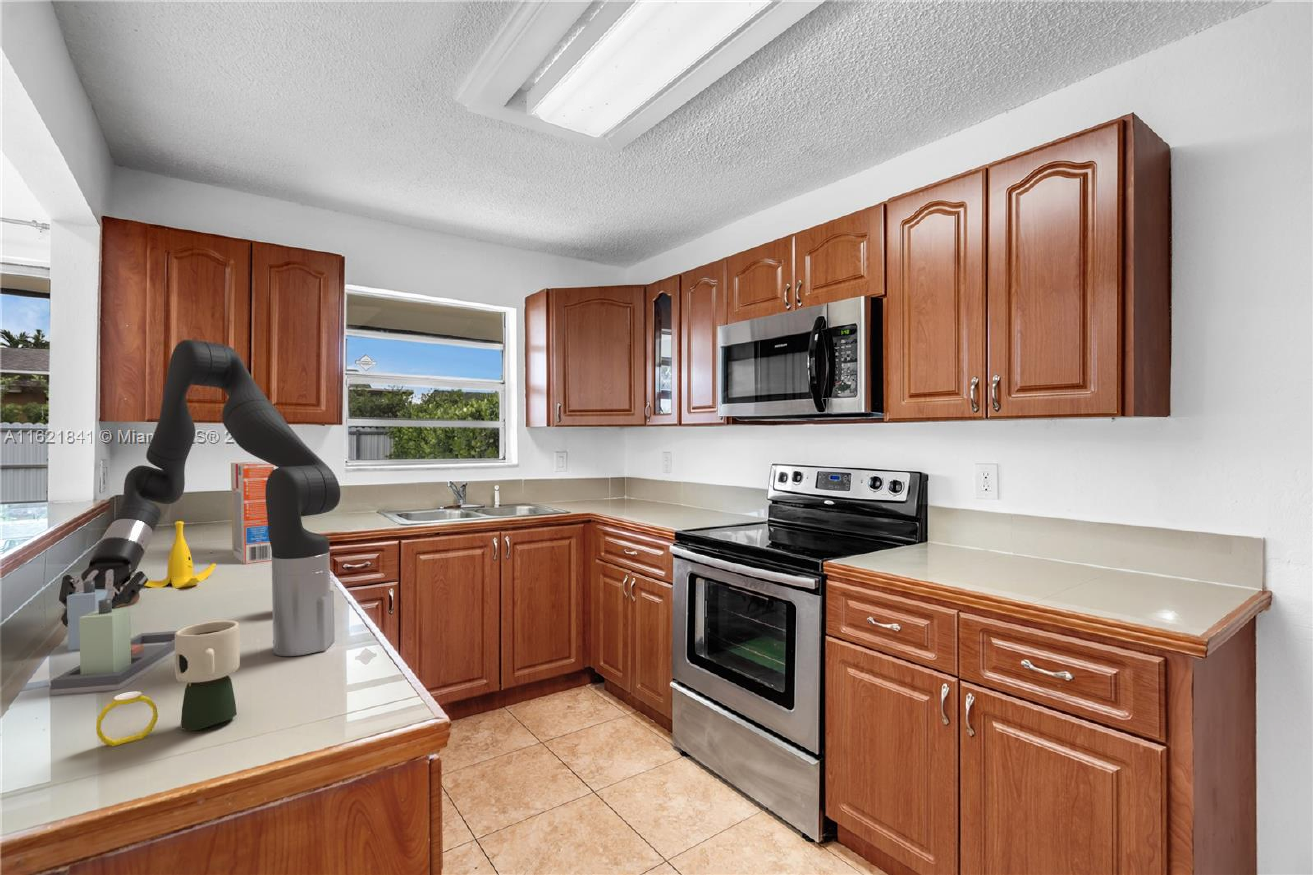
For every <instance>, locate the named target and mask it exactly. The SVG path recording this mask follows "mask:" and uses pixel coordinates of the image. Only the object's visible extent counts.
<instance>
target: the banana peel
mask: <svg viewBox="0 0 1313 875" xmlns="http://www.w3.org/2000/svg"><path fill="white" fill-rule="evenodd" d="M184 523H185V522H184V521H181V520H179V521H178V520H177V521H175V523H174V525H175V530H176V533H175V534H176V535H175V540H174V542H173V544H172V547H171V550H170V553H169V557H168V562H167V569H166V570H167V574H166V575H167V576H166V578H164V579H163V580H149V579H148V581H147V583H146V584H145V585H144V586H143V587H149V588H151V589H157V588H164V587H166V586H168V585H169V584H171V586H172V588H173V589H178V590H179V589H184V588H189V587H194V586H197V585H198V582H202V581H205V580H206V579H207V578H209V576H210V575H211V574H212V573H213V571H214V569H215V568H216V566H217V563H212V564H210V565H209V566H208V567H207V568H206V569H205V570H203V571H201V572H200V573H198V574H194V564H193V563H194V562H193V557H192V554H191V551H190V548H189V546H188V544H187V542H186V540H185V537H184Z"/></svg>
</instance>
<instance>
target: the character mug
mask: <svg viewBox="0 0 1313 875" xmlns="http://www.w3.org/2000/svg"><path fill="white" fill-rule="evenodd" d="M176 631H177V632H175V655H174V671H175V672H174V673H175V674H174V675H175V678H176V681H177V682H183V683H187V684H186V686H185V687H184V695H183V701H182V706H181V717H180V718H181V719H180V729H183V730H186V731H195V730H196V731H198V730H201V729H203V728H212V727H213V725H214V726H215V725H218V724H220V723H224V722H225V721H228V720H231V719H233V718H234V717H235V716H237V714H238V713H237V704H236V697H235V694H234V687H233V682H232V678H231V677H230V676H231V675H232V674H234V673H235V672H237V671H238V670H239V668H240V664H241V663H240V623H239V622H238V621H234V620H217V621H208V622H207V621H206V622H202V623H197V624H192V625H190V626H186V627H183V628H181V629H178V630H176Z"/></svg>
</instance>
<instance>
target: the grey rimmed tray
mask: <svg viewBox="0 0 1313 875" xmlns="http://www.w3.org/2000/svg"><path fill="white" fill-rule="evenodd" d="M177 631H178V630H173V631H159V632H157V631H156V632H154V631H153V632H142V633H140V634H138V635H136V636H134V637H131V665H129V666H128V667H126V668H124V669H122V670H121V671H119V672H109V673H95V674H82V675H80V665H78V666H76V667H73V668H72V669H70V670H68V671H66V672H65V673H63V674H60V675H58V676H56V677H55V678H53V679H51V680H50V696H56V695H58V696H59V695H68V694H80V693H83V694H84V693H93V692H94V693H95V692H105V691H119V690H121V689H122V688H125V686H127V685H129V684H131V683H132V682H134V681H135V680H137V679H138V678H140V677H141V676H143V675H145V674H146V673H148V672H150V671H151V670H152V669H153V670H154V669H155V668H156V667H157V666H159V665H161V664H162V663H164V662H166V661H167V660H169V659H171V658H172V657H173V656H175V632H177Z"/></svg>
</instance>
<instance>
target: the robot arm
mask: <svg viewBox="0 0 1313 875" xmlns="http://www.w3.org/2000/svg"><path fill="white" fill-rule="evenodd" d="M191 386H199V387H200V386H201V387H211V388H218V389H221V390H222V391H224V393H226V395H227V396H228V398H227V400H226V401H225V403H224V405H223V408H222V413H221V419H222V420H221V421H222V425H223V426H224V428H225V429H226V430H227V432H228V433H229V434H230V436H231V438H232V439H233V440H234V442H235V443H236V444H237V445H238V446H239V447H240V448H241V449H242V450H244V451H245V452H247V453H248V454H250V455H251V456H253V457H256V458H257V459H260V460H261V461H263V462H265V463H270V464H272V465H274V467H276V468H274V470H273V471H272V472H271V473H270V475H269V476H268V479H267V482H266V491H265V497H266V510H267V522H268V537H269V541H270V545H271V550H272V561H271V581H272V582H271V592H272V593H271V594H272V595H271V596H272V600H271V602H272V605H271V606H272V645H273V654H274V655H276V656H279V657H295V656H296V657H297V656H304V655H309V654H312V653H317V652H325V651H326V650H327V649H328V648H329V647H330V646H331V645H332V644H333V643H334V642H335V638H336V637H335V635H336V634H335V633H336V632H335V592H334V590H333V589H331V563H330V562H331V561H330V560H331V558H330V557H331V556H330V554H331V552H330V548H331V547H330V539H329V537H328V536H327V535H325V534H322V533H321V534H320V533H315V532H311V531H309V530H307V529H305V527H304V526H303V523H302V517H310V516H316V515H322V514H327V513H328V512H331V511H333V510H334V509H335V508H337V506H338V505H339V503H340V499H341V493H342V492H341V488H340V484H339V481H338V479H337V476H336V474H335V473H334V472H333V470H332V469H331V468H330V467H329V465H328V464H326V463H325V461H323V460H322V458H320V457H319V456H318V455H316V453H314V452H313V450H311V449H310V448H309V447H308V446H307V444H305V443H304V442H303V440H302V439H301V438H300V436H298V434H297V433H296V432H295V431H294V430H293V428H291V427H290V426H289V424H288V423H287V421H286V420H285V418H284V417H283V416H282V415H281V413H280V412H279V410H278V409H277V408H276V407H275V406H274V404H273V403H272V402H271V401H270V400H269V399H268V398H267V396H266V395H265V394H264V392H263V391H262V390H261V388H260V387H259V385H258V384H257V383H256V381H255V380H254V378H253V377H252V375H251V374H250V372H249V369H248V368H247V366H246V365H245V363H244V361H243V359H242V358H241V356H240V355H239V354H238V352H237V351H236V350H235V349H234V348H233V347H231V346H229V345H226V344H221V343H217V342H208V341H202V340H195V339H183V340H181V341H180V342H178V343H177V344H176V345H175V347H174V349H173V352H172V353H171V356H170V360H169V364H168V368H167V373H166V379H165V384H164V390H163V395H162V401H161V407H160V414H159V418H158V421H157V424H156V428H155V430H154V432H153V434H152V438H151V440H150V443H149V445H148V448H147V450H146V454H145V457H146V460H147V461H148V463H150V464H152V465H153V466H154V467H152V466H148V465H138V466H135V467H133V468H132V469H130V470H129V471H128V472H127V474H126V476H125V478H124V484H123V495H122V502H121V505H120V507H119V509H118V512H117V513H116V515H115V517H114V519H113V521H112V522H111V524H110V525H109V527H108V528H106V531H105V533H104V534H103V536H102V538H101V540H100V541H99V543H98V545H97V547H96V548H95V550H94V552H93V554H92V556H91V558H90V559H89V563H88V567H87V568H86V569H85V570H84V571H83V572H82V573H81V574H78V575H75V576H72V575H71V574H66V575H63V577H62V581H61V584H60V585H61V586H60V590H59V596H58V601H59V602H61V604H62V605H63V606H65V608H66V609H64V610H65V611H64V613H63V614H62V616H61V618H60V622H62V624H63V625H64V626H65V627H66V628H67V624H68V619H67V596H68V595H71V594H74V593H77V592H79V591H84V585H83V582H85V581H93V580H94V581H95V589H105V590H108V593H107V595H106V598H105V599H112V609H117V608H116V607H117V606H118V605H120V604H123V603H124V604H129V603H130V602H131V601H132V600H133V598H134V597H135V596H136V595H137V593H138V592H139V593H140V591H142V589H143V588H144V587H145V586H144V585H145V584H146V583H147V581H148V580H149V578H148V577H147V575H146V574H145V572H143V571H137V569H138V567H139V565H140V563H141V561H142V558H143V557H144V555H145V552H146V550H147V549H148V546H149V545H150V543H151V542H150V541H151V539H152V536H153V533H154V531H155V529H156V527H157V525H158V523H159V521H160V518H161V514H162V511H161V509H160V507H159V506H158V505H156V504H155V503H158V504H161V505H162V504H163V505H172V504H174V503H177V501H179V500H180V499H181V497H182V496H183V493H184V491H185V484H186V481H185V480H186V479H185V470H186V468H185V467H186V462H187V458H188V456H189V453H190V451H191V449H192V446H193V444H194V441H195V437H196V426H195V423H194V419H193V416H192V415H191V412H190V409H189V406H188V404H187V394H188V391H189V389H190V387H191ZM136 571H137V572H136ZM126 583H127V585H126V586H125V587H124V588H123V590H122V586H123V585H124V584H126ZM121 590H122V591H121Z"/></svg>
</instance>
